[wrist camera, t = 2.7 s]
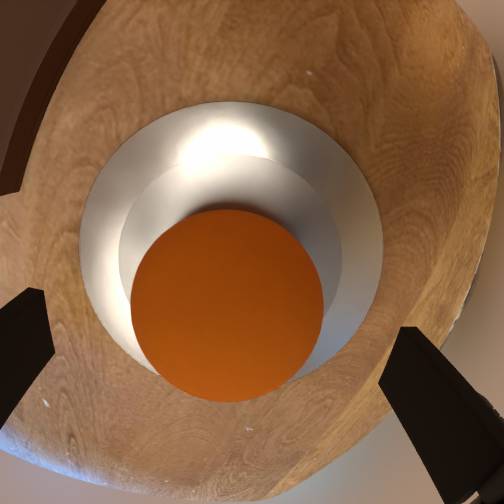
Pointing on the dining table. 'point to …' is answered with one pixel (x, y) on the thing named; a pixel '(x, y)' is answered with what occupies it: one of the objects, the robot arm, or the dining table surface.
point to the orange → (226, 305)
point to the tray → (33, 71)
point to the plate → (233, 208)
